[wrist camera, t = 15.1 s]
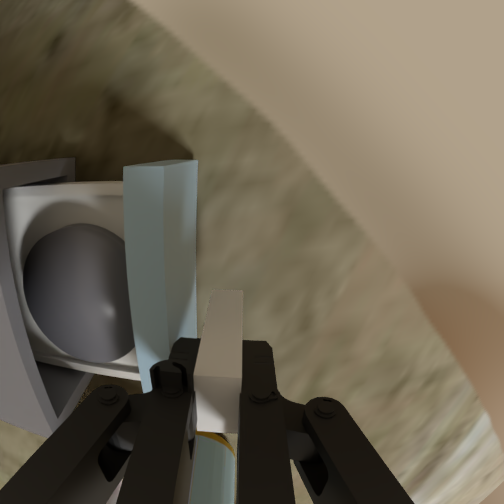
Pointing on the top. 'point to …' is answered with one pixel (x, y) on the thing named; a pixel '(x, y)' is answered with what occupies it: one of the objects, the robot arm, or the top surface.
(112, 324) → the disc
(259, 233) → the top surface
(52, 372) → the housing
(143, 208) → the light blue drawer
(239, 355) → the robot arm
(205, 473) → the bottle
